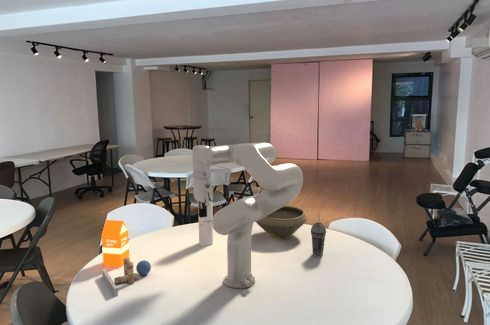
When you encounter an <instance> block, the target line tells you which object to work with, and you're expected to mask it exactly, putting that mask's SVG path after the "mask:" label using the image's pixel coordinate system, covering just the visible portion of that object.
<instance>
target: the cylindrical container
mask: <svg viewBox="0 0 490 325" xmlns="http://www.w3.org/2000/svg"><path fill="white" fill-rule="evenodd" d="M209 204H210V205H209V206H207V217H202V218H201V217H199V208H200V207H198V206H197V207H198V208H197V209H198V211H197V212H198V214H197V215H198V238H199V239H198V244H199V245H200V246H203V247H208V246H209V247H210V246H212V245H213V244H214V228H213V226H212V219H213V216H214V215H213V201H209Z"/></svg>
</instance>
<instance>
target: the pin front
mask: <svg viewBox="0 0 490 325" xmlns="http://www.w3.org/2000/svg"><path fill="white" fill-rule="evenodd" d="M135 280H138V275H137V272H135V273H134V281H135ZM113 282H114V283H115V285H117V284H123V283H126V282H127V283H128V275H126V276H124V275H122V276H117V277H114V279H113Z"/></svg>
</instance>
